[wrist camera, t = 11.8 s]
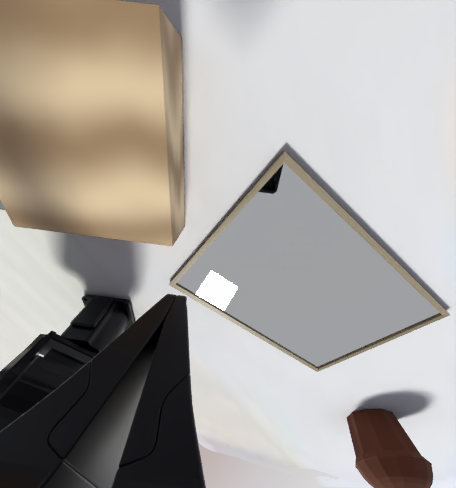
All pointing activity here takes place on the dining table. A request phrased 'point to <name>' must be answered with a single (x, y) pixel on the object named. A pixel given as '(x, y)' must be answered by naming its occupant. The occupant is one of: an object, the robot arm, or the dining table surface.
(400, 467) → the muffin
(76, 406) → the robot arm
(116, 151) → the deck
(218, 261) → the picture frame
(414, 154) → the dining table surface
